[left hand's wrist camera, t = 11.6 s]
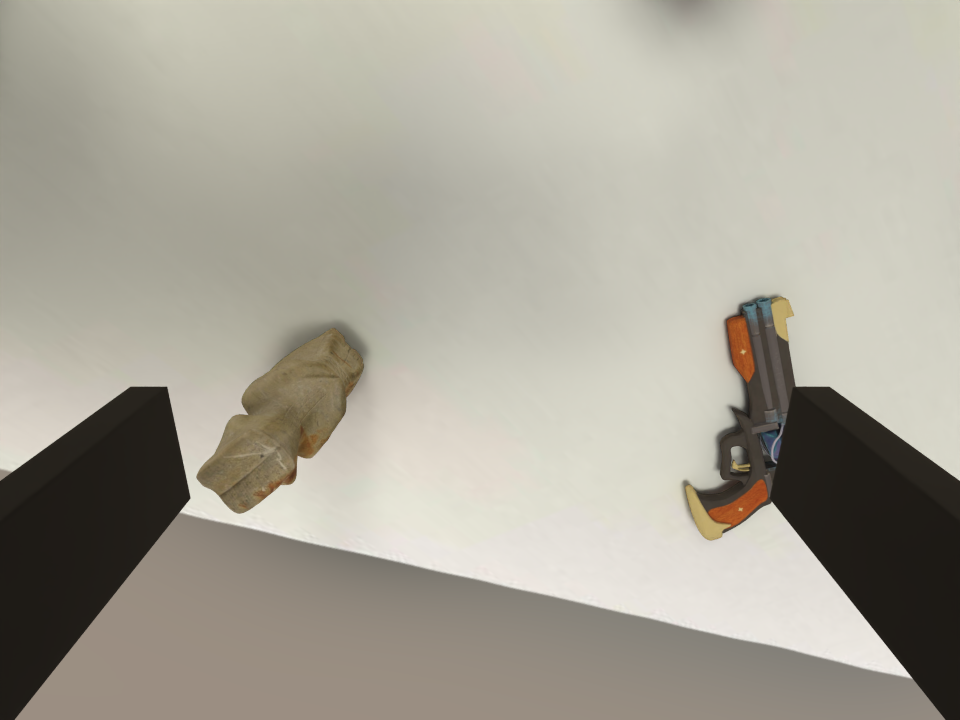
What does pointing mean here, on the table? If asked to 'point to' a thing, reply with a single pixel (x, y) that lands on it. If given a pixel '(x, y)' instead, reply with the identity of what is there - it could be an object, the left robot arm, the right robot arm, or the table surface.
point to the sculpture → (283, 421)
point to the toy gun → (752, 417)
